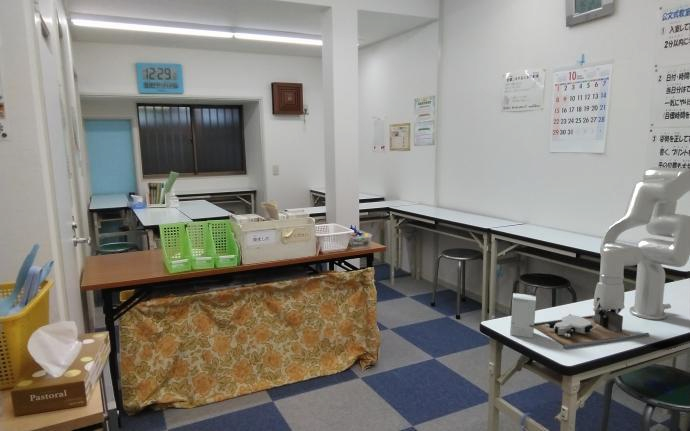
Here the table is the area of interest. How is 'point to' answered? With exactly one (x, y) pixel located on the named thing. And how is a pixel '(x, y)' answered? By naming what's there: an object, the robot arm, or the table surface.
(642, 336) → the guide rails
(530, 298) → the skincare box
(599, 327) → the brown rectangular mat
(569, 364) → the table surface
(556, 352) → the table surface
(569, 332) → the robot toy
